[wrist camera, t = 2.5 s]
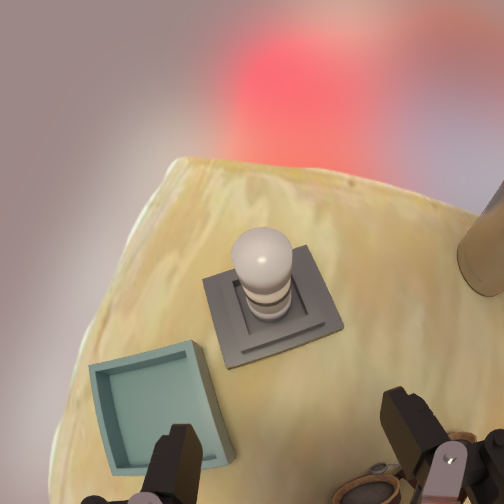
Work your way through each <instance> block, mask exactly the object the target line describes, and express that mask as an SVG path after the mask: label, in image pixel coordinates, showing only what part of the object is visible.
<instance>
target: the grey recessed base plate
mask: <svg viewBox="0 0 504 504" xmlns="http://www.w3.org/2000/svg"><path fill="white" fill-rule="evenodd" d="M202 281H203V285H204V289H205V293H206V296H207V300H208V304H209V308H210V312H211V315H212V319H213V323H214V326H215V330H216V334H217V337H218V341H219V344H220V348H221V351H222V355H223V358H224V362H225V365H226V368H227V369H228V370H229V369H232V368H236V367H239V366H242V365H246V364H249V363H252V362H255V361H258V360H261V359H264V358H267V357H270V356H273V355H276V354H279V353H282V352H285V351H288V350H290V349H293V348H296V347H299V346H301V345H304V344H307V343H309V342H312V341H315V340H317V339H320V338H322V337H325V336H327V335H330V334H332V333H335V332H337V331H340V330H342V329H343V328H344V324H343V322H342V320H341V317H340V315H339V313H338V311H337V309H336V306H335V304H334V302H333V300H332V297H331V295H330V293H329V291H328V289H327V287H326V284H325V282H324V280H323V278H322V276H321V274H320V272H319V270H318V267H317V265H316V263H315V261H314V259H313V257H312V255H311V253H310V251H309V249H308V247H307V245H304V246H301V247H298V248H295V249H292V274H291V307H290V310H289V312H288V314H287V315H286V316H285V317H284V318H283V319H282V320H280V321H278V322H275V323H265V322H261V321H259V320H258V319H256V318H255V317H254V316H253V315H252V313H251V311H250V308H249V306H248V303H247V300H246V295H245V293H244V290H243V287H242V284H241V283H240V281H239V279H238V276H237V273H236V270H235V269H232V270H229V271H226V272H223V273H220V274H217V275H214V276H211V277H208V278H205V279H202Z"/></svg>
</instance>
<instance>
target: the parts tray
mask: <svg viewBox="0 0 504 504" xmlns="http://www.w3.org/2000/svg"><path fill="white" fill-rule="evenodd" d="M88 366H89V373H90V381H91V387H92V393H93V399H94V405H95V410H96V415H97V420H98V424H99V429H100V433H101V437H102V441H103V445H104V449H105V452H106V456H107V459H108V463H109V466H110V469H111V473H112V476H142V475H146V473H147V469H148V466H149V463H150V462H151V461H150V459H151V456H152V455H153V450H154V446H155V443H156V442H157V441H158V440H159V439H160V437H161V436H162V435H169V432H170V429H171V426H172V424H191V425H192V426H193V428H194V430H195V432H196V434H197V436H198V438H199V440H200V442H201V444H202V448H203V459H202V466H201V470H203V469H210V468H215V467H221V466H226V465H229V464H230V463H231V462H232V461H233V460H234V459H235V458H236V457H235V454H234V451H233V448H232V445H231V442H230V439H229V436H228V433H227V430H226V427H225V424H224V421H223V418H222V415H221V412H220V409H219V405H218V402H217V399H216V395H215V392H214V389H213V385H212V382H211V378H210V375H209V371H208V368H207V364H206V360H205V357H204V353H203V349H202V347H201V346H199V345H198V344H197V343H195V342H194V341H193V340H189V341H185V342H182V343H178V344H174V345H171V346H167V347H163V348H160V349H156V350H152V351H148V352H144V353H140V354H136V355H132V356H128V357H124V358H119V359H115V360H111V361H106V362H102V363H97V364H92V365H88Z"/></svg>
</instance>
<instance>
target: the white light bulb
mask: <svg viewBox="0 0 504 504" xmlns="http://www.w3.org/2000/svg"><path fill="white" fill-rule="evenodd" d="M231 257H232V262H233V265H234V268H235V270H236V273H237V276H238V279H239V281H240V283H241V284H242V287H243V290H244V293H245V295H246V300H247V303H248V306H249V308H250V311H251V313H252V315H253V316H254V317H255V318H256V319H258V320H259V321H261V322H265V323H275V322H278V321H280V320H282V319H283V318H284V317H285V316H286V315H287V314H288V312H289V310H290V307H291V274H292V246H291V244H290V242H289V240H288V239H287V237H286V236H285V235H284V234H282V233H281V232H279V231H278V230H275V229H272V228H266V227H261V228H255V229H251V230H249V231H247V232H245V233H244V234H242V235H241V236H240V237H239V238H238V239H237V240H236V242H235V243H234V245H233V248H232V253H231Z"/></svg>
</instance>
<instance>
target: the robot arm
mask: <svg viewBox="0 0 504 504" xmlns="http://www.w3.org/2000/svg"><path fill="white" fill-rule="evenodd" d="M458 262H459V266H460V269H461V272H462V274H463V276H464V278H465V279H466V281H467V282H468V284H469V285H470V286H471V287H472V288H473V289H474V290H475V291H477V292H478V293H480V294H482V295H485V296H495V295H497V294H498V293H500V292H501V291H502V290H504V181H503V182H502V184H501V186H500V187H499V189H498V190H497V192H496V193H495V195H494V196H493V198H492V200H491V201H490V202H489V204H488V205H487V207H486V208H485V210H484V211H483V212H482V214H481V215H480V217H479V218H478V219H477V221H476V222H475V223H474V225H473V226H472V227H471V229H470V230H469V231H468V233H467V234H466V235H465V236H464V238H463V239H462V240H461V242H460V244H459V247H458ZM380 421H381V425H382V427H383V429H384V431H385V434H386V436H387V438H388V440H389V442H390V444H391V446H392V448H393V450H394V452H395V455H396V457H397V459H398V461H399V463H400V465H401V468H402V470H403V472H404V474H405V476H406V479H407V481H409V480H411V479H413V478H416V479H417V482H418V484H417V486H416V489H415V491H414V494H413V496H412V499H411V501H410V504H460V503H461V501H460V500H459V499H458V496H459V492H460V488H463V487H464V489H465V491H466V493H467V495H468V497H469V500H470V502H471V504H504V429H496V430H494V431H492V432H490V433H489V434H488V436H487V437H486V439H485V440H483V441H479V442H475V443H471V444H466V445H463V444H462V443H460V442H457V441H452V440H451V439H450V438H449V436H448V435H447V433H446V432H445V430H444V429H443V427H442V426H441V424H440V423H439V421H438V420H437V418H436V417H435V415H433V412H432V411H431V410H430V409H429V407H428V405H427V404H426V402H425V401H424V400H423V399H422V398H421V397H419V396H418V395H416V394H414V393H413V394H411V395H408V394H407V393H406V391H405V390H404V388H403V387H401V386H399V387H396V388H393V389H390V390H387V391H385V392H384V393H383V399H382V405H381V411H380ZM202 459H203V448H202V444H201V442H200V440H199V438H198V436H197V434H196V432H195V430H194V428H193V426H192V425H191V424H172V426H171V429H170V432H169V435H162V436H161V437H160V439H159V440H158V441H157V442H156V443H155V446H154V450H153V455H152V456H151V459H150V461H151V462H150V463H149V466H148V469H147V473H146V476H145V479H144V483H143V486H142V489H141V491H140V493H137V494H135V495H133V496H132V497H131V498H130V499H129V500H125V501H112V502H107V501H106V500H105V499H104V498H102V497H100V496H96V495H92V496H88V497H86V498H85V499H84V500H83V501H82V502H81V504H196V502H197V494H198V487H199V480H200V473H201V466H202Z"/></svg>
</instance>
